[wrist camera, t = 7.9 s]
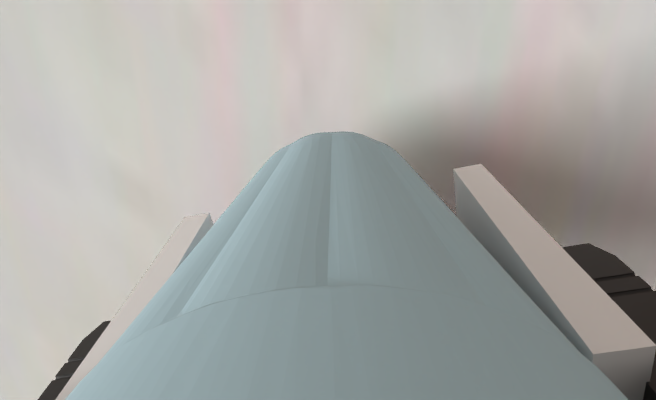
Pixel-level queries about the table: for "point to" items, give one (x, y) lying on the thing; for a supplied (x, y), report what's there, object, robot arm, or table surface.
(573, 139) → the table surface
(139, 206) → the table surface
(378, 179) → the cup
